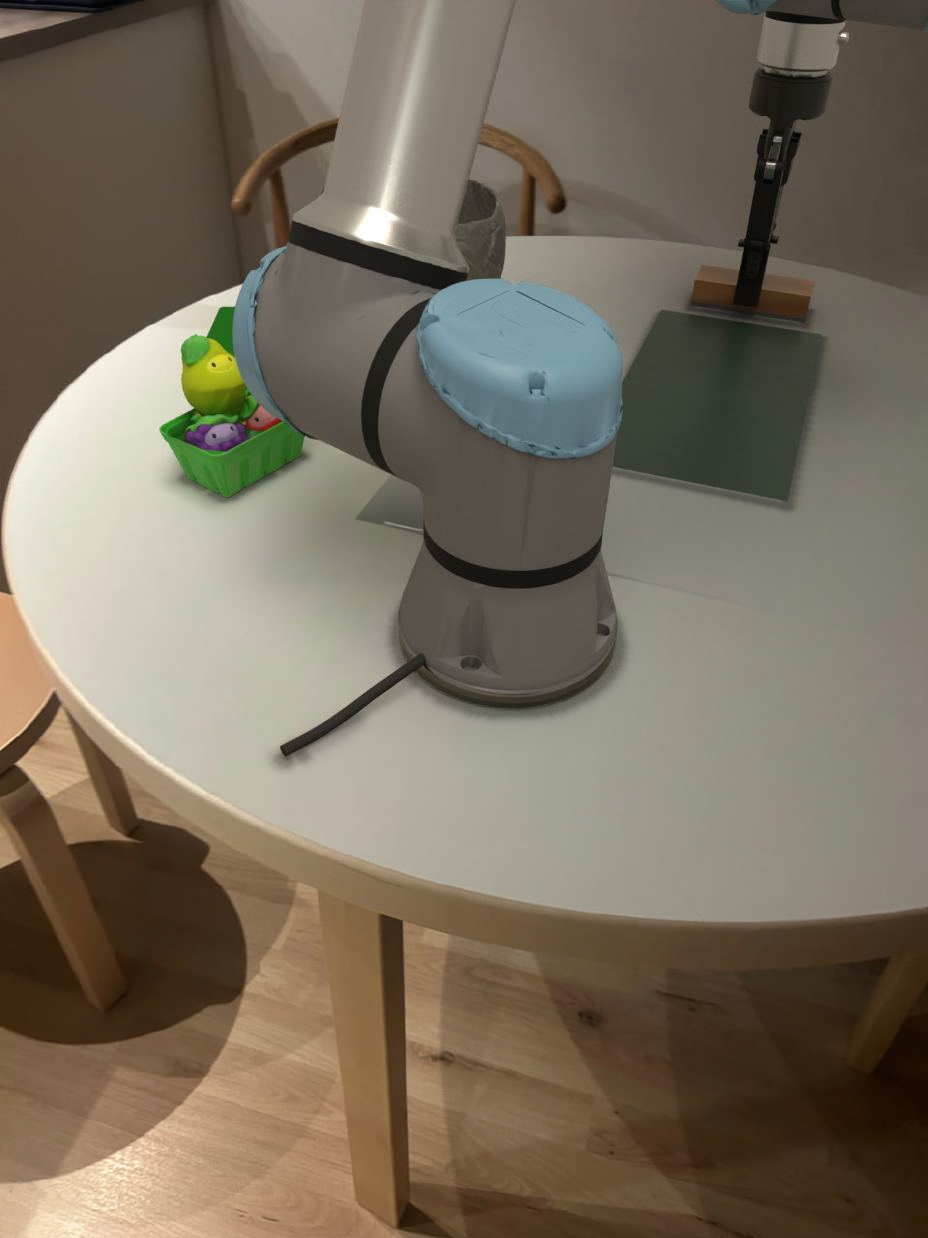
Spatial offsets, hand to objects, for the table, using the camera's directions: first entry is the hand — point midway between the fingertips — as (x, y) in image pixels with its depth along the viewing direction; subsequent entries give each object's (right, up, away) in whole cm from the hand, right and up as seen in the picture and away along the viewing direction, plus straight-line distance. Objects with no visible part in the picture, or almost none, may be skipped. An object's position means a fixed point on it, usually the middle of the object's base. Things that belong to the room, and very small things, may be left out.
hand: (745, 303), depth 109 cm
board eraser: (+1, 0, +3) cm, 4 cm away
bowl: (-38, -5, -3) cm, 39 cm away
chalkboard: (-7, -13, -13) cm, 20 cm away
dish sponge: (-55, -8, -7) cm, 56 cm away
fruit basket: (-52, -23, -24) cm, 62 cm away
